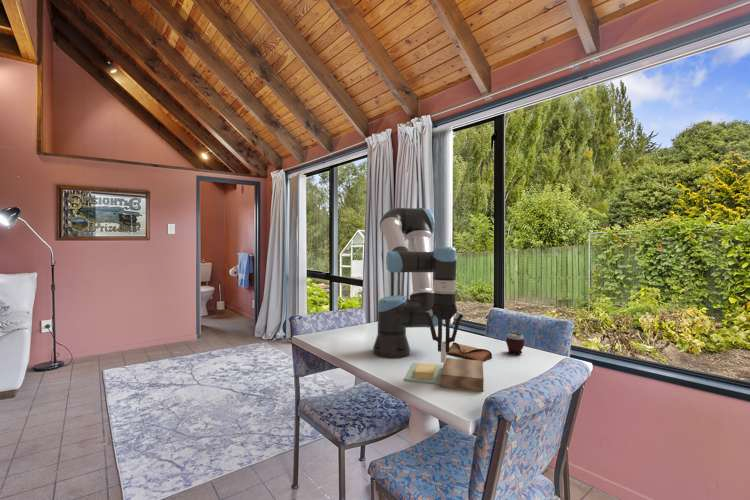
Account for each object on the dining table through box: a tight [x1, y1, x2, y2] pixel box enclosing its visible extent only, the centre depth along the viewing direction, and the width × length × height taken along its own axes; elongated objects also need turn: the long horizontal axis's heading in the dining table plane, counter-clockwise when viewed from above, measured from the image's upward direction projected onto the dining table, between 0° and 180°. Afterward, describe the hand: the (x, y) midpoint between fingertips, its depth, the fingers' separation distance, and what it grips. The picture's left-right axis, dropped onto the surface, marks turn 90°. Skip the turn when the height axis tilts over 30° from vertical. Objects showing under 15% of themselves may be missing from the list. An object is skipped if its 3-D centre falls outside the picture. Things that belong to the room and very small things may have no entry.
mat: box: [404, 361, 444, 385], centre depth 132 cm, size 12×18×1 cm, turn 165°
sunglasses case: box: [446, 341, 493, 363], centre depth 152 cm, size 18×7×7 cm, turn 48°
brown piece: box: [440, 357, 484, 392], centre depth 126 cm, size 13×18×4 cm
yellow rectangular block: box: [415, 362, 437, 379], centre depth 130 cm, size 6×9×2 cm, turn 165°
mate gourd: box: [506, 318, 531, 356], centre depth 157 cm, size 8×8×15 cm
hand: (443, 361), depth 128 cm, fingers closed
